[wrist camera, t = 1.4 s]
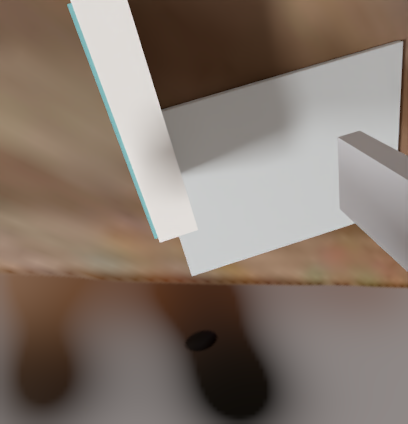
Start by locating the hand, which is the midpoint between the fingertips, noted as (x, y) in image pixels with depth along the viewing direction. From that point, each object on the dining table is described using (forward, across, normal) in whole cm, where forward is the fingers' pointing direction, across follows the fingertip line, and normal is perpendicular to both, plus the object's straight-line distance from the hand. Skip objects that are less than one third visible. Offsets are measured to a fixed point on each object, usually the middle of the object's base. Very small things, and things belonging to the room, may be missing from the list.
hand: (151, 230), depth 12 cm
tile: (+16, +1, 0) cm, 16 cm away
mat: (+17, +11, -8) cm, 22 cm away
